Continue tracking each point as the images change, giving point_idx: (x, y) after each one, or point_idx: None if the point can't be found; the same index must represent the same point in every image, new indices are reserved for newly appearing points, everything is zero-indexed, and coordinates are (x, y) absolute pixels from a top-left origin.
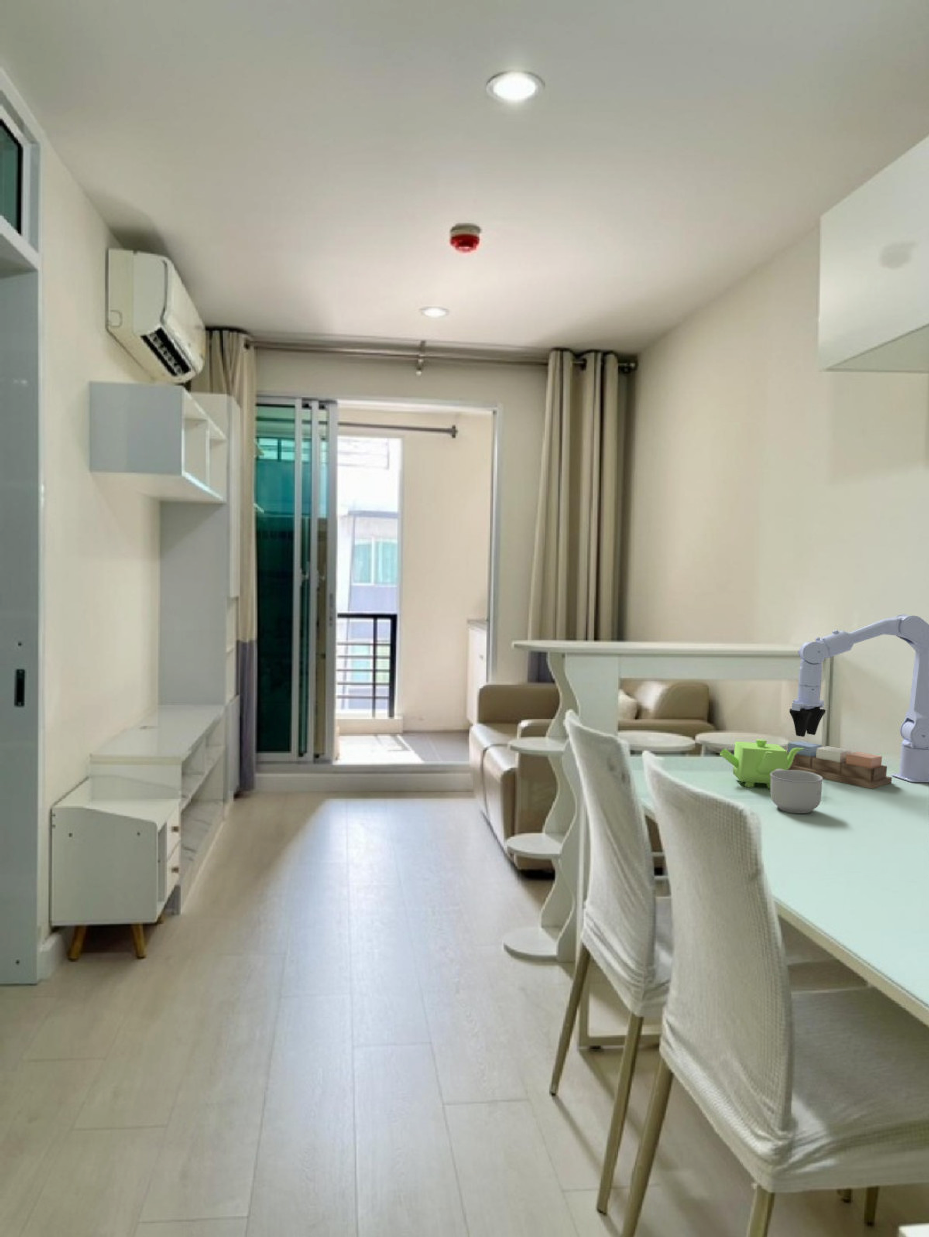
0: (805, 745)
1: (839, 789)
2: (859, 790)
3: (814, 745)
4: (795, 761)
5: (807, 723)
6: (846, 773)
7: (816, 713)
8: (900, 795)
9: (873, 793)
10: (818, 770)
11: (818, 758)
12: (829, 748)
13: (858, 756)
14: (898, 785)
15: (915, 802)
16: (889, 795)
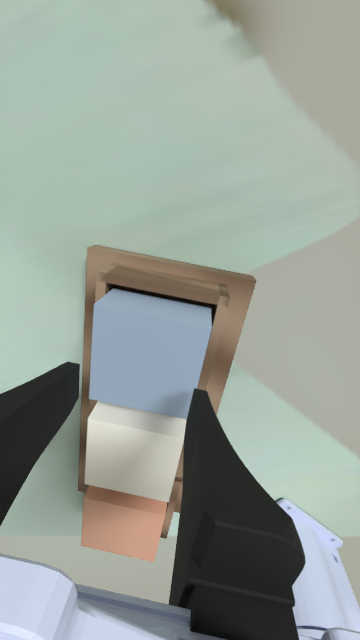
0: (106, 375)
1: None
2: (40, 461)
3: (147, 401)
4: None
5: (26, 471)
6: None
7: (177, 568)
8: (77, 514)
9: (42, 482)
10: None
11: (93, 402)
12: (134, 450)
13: (83, 520)
14: None
15: (44, 531)
16: (55, 502)
